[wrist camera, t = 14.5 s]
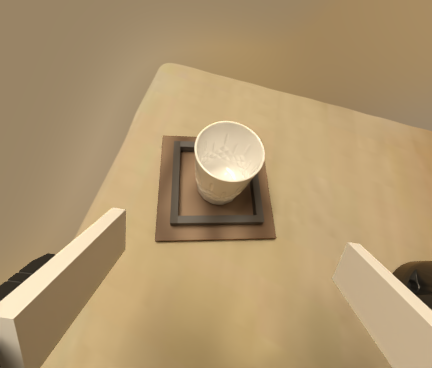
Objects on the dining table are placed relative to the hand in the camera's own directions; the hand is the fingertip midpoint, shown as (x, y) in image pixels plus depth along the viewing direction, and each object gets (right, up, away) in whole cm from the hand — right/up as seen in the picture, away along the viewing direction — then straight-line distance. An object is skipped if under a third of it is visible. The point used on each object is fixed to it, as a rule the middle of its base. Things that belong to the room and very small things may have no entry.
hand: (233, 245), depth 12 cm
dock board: (-1, +3, +20) cm, 21 cm away
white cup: (-1, +3, +20) cm, 20 cm away
